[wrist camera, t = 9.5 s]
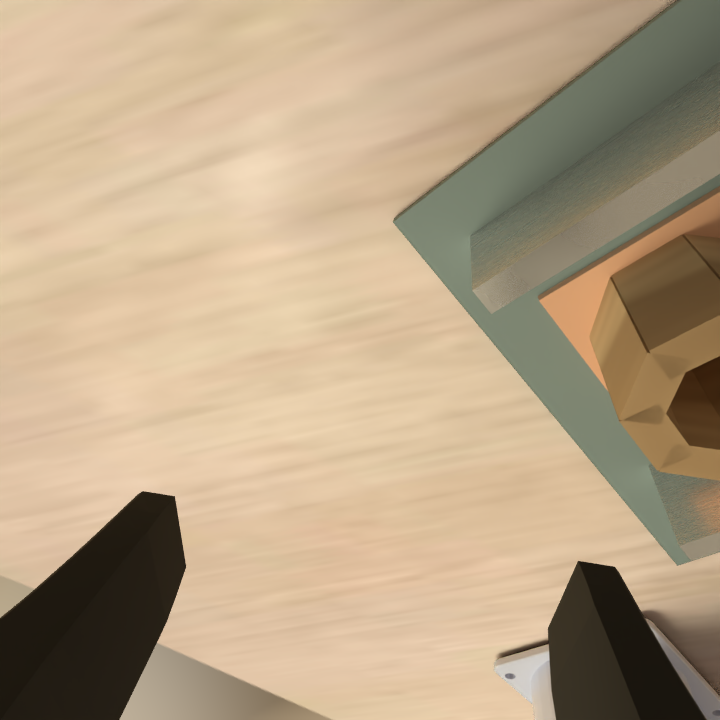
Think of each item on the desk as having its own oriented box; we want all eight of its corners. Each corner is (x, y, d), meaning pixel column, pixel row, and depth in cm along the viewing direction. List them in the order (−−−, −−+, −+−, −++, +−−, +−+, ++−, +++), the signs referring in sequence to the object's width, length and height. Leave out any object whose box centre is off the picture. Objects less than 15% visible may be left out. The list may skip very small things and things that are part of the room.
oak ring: (812, 334, 17) (900, 424, 13) (644, 412, 19) (683, 504, 16) (739, 200, 15) (818, 265, 12) (563, 303, 17) (588, 381, 14)
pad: (832, 333, 17) (837, 338, 17) (634, 423, 20) (636, 428, 19) (746, 169, 15) (750, 173, 15) (537, 295, 18) (538, 300, 17)
